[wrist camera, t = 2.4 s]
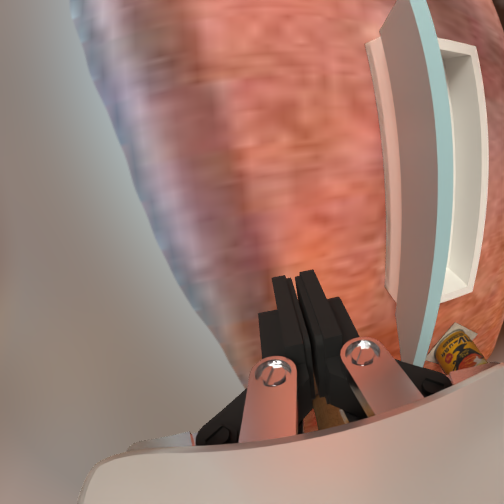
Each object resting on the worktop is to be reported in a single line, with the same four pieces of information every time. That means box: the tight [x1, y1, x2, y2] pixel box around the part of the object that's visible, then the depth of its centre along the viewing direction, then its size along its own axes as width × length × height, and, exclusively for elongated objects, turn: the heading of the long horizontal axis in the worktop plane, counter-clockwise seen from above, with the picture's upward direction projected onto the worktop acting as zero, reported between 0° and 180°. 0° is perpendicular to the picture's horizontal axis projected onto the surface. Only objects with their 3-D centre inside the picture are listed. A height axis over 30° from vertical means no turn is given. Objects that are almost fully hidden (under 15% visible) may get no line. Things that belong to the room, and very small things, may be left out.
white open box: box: [365, 36, 489, 303], centre depth 21 cm, size 24×9×5 cm, turn 11°
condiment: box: [425, 323, 488, 375], centre depth 29 cm, size 7×8×12 cm
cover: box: [379, 0, 453, 367], centre depth 15 cm, size 24×9×1 cm
